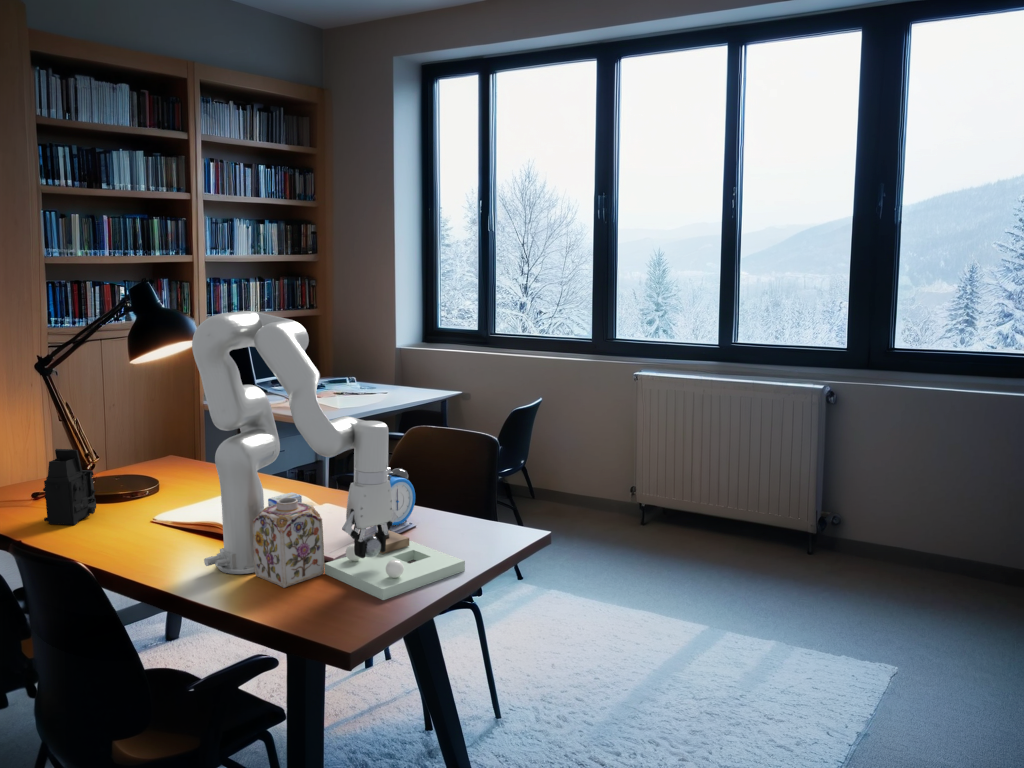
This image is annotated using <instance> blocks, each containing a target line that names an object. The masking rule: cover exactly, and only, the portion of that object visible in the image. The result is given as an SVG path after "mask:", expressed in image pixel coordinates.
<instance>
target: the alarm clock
mask: <svg viewBox="0 0 1024 768" xmlns="http://www.w3.org/2000/svg"><path fill="white" fill-rule="evenodd" d="M388 480H389V481H390V485H391V491H392V503H393V510H394V512H395V513H396V514H397V516H398V517H397V519H396V520H395V521H394V522H393V523H392V526H393V525H396V526H399V524H400V525H402V524H403V523H407V522H408V521H407V520H408V519H409V518H410V517H411V515H412V512H413V510H414V507H415V503H416V492H415V488H414V485H413V484H412V482H411V481H410V480H409V474H408V471H407V470H405V469H403V467H401V468H400V467H398V468H394V469H391V473H388Z"/></svg>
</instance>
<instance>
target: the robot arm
mask: <svg viewBox="0 0 1024 768" xmlns="http://www.w3.org/2000/svg"><path fill="white" fill-rule="evenodd" d="M309 342H310V339H309V334H308V332H307V329H306V328H305V327H304V326H303V325H302V323H299V322H298V321H295V320H293V319H289V318H284V317H280V316H276V315H271V314H268V313H265V312H264V313H263V312H258V311H255V310H254V311H253V310H241V311H235V312H234V311H233V312H232V311H231V312H225V313H218V314H214V315H212V316H209V317H207V318H206V319H205V320H203V321H202V322H201V323H200V324H199V325H198V326H197V328H196V329H195V331H194V334H193V336H192V342H191V349H192V354H193V357H194V358H193V359H194V362H195V363H196V368H197V369H198V371H199V375H200V379H201V384H202V387H203V392H204V396H205V400H206V404H207V408H208V410H209V415H210V418H211V421H212V423H213V425H214V426H215V427H216V428H217V429H219V430H220V431H227V432H229V431H234V430H238V429H240V433H237V434H236V435H235V434H234V435H233V436H230V437H228V438H226V439H224V440H223V441H222V442H221V443H220V444H219V445H218V447H217V449H216V451H215V454H214V455H215V456H214V463H215V464H214V465H215V468H216V471H217V475H218V479H219V487H220V498H221V499H220V500H221V501H220V502H221V515H222V516H221V518H222V534H223V535H222V536H223V548H219V552H218V553H217V554H216V555H214V556H213V555H212V556H209V557H205V558H204V559H203V561H204V562H203V563H204V565H205V566H206V567H209V566H212V565H215V567H217V568H218V570H219V571H220V572H222V573H225V574H230V575H245V574H246V575H247V574H253V573H255V565H254V543H253V520H254V519H255V518H256V517H257V516H258V514H259V513H260V512H261V511H263V510H264V509H265V498H264V487H263V484H262V482H261V479H260V477H259V473H258V471H259V470H260V469H263V468H265V467H267V466H269V465H271V464H272V463H273V462H275V461H276V460H277V458H278V456H279V454H280V450H281V443H280V442H281V441H280V437H279V434H278V430H277V425H276V422H275V417H274V414H273V413H274V412H273V409H272V405H271V403H270V399H269V397H268V395H267V394H266V392H264V390H262V389H261V388H260V387H259V386H257V385H255V384H254V385H253V384H243V382H242V379H241V373H240V370H239V368H238V365H237V363H236V361H235V360H234V359H233V357H232V356H231V355H230V352H231V351H233V350H239V349H243V348H250V347H252V348H255V349H256V350H257V352H258V354H259V356H260V357H261V358H262V360H263V361H264V363H265V364H266V366H267V367H268V368H269V370H270V371H271V372H272V373H273V375H274V376H275V378H276V380H277V381H278V382H279V384H280V385H281V387H282V388H283V389H284V391H285V392H286V394H287V397H288V405H289V409H290V413H291V417H292V420H293V423H294V425H295V427H296V429H297V430H298V432H299V434H300V435H301V436H302V438H303V439H304V440H305V442H306V443H307V444H308V446H309V447H310V449H312V450H313V451H314V452H315V453H316V454H318V455H319V456H322V457H326V458H333V457H336V456H337V455H340V454H342V453H344V452H346V451H350V450H352V449H354V451H353V453H354V454H353V482H350V485H349V489H348V495H347V502H346V503H347V504H346V512H345V513H346V514H345V515H346V516H345V520H346V521H345V523H344V524H343V526H342V528H341V530H342V531H343V532H345V533H346V534H348V535H349V537H351V538H352V539H353V544H354V552H355V555H356V556H358V557H360V558H365V546H366V542H365V541H363V539H364V537H365V536H366V535H365V534H366V530H367V529H369V528H372V527H375V528H376V532H375V533H374V535H375V536H376V537H377V538H378V539H379V540H380V542H381V550H380V551H381V552H385V551H386V535H387V534H388V530H389V531H390V529H391V527H393V525H392V523H393V522H394V521H395V520H396V519H397V517H398V516H397V514H396V513H395V512H394V510H393V503H392V491H391V485H390V481H389V480H388V474H389V473H391V472H392V469H391V467H389V427H388V425H387V424H386V423H385V422H383V421H380V420H364V419H360V418H358V417H357V418H356V417H353V416H347V415H345V416H339V417H337V418H334V419H331V420H330V419H329V418H328V417H327V415H326V414H325V412H324V411H323V409H322V407H321V405H320V402H319V400H318V396H317V390H318V389H317V388H318V385H319V383H320V379H321V373H320V371H319V370H318V368H317V366H315V364H314V362H312V360H311V358H310V357H309V355H307V353H306V352H305V351H306V350H307V348H308V346H309ZM353 525H354V526H353Z"/></svg>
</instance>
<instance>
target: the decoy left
mask: <svg viewBox="0 0 1024 768" xmlns="http://www.w3.org/2000/svg"><path fill="white" fill-rule="evenodd" d="M345 557H347V558H348V559H349V560H351V561H357V560H359V559H360V557H358V556H356V555H355V552H354V543H352V544H351V543H350V544H349V545H348V546H347V547H346V549H345Z"/></svg>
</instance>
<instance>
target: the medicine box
mask: <svg viewBox="0 0 1024 768" xmlns="http://www.w3.org/2000/svg"><path fill="white" fill-rule="evenodd" d="M302 497H303V495H301V494H298V493H296V492H288V493H284V494H283V493H282V494H281V495H276V496H272V497H269V498H268V499H267V507H268V506H272V505H275V504H277V500H279V499H281V498H296V499H297V500H298V503H303V502H302V501H303V498H302Z"/></svg>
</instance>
